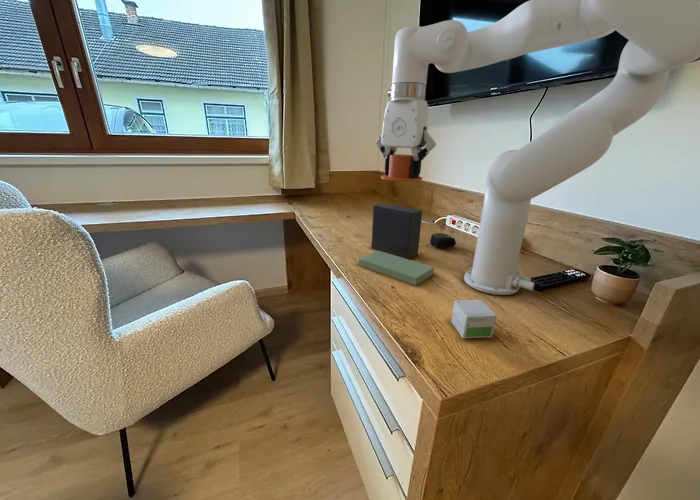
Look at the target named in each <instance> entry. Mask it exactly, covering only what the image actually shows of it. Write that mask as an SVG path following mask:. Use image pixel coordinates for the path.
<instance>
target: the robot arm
mask: <svg viewBox="0 0 700 500" xmlns="http://www.w3.org/2000/svg"><path fill="white" fill-rule="evenodd" d="M615 31H616V32H617V33H618V34H620V35H621V36H623V38H625V39H627V40H628V41H627V42H626V44H625V46H624V47H623V49H622V51H621V54H620V57H619V60H618V61H619V62H618V66H617V67H618V68H617V71H616V74H615V76H614V78H613V80H611V82H610V83H609V84H608V85H607V86H606V87H605V88H603V89H602V90H600V91H599V92H597V93H596V94H594V95H593V96H592V97H590V98H589V99H588V100H586V101H584V102H583V103H581V104H580V105H578V106H577V107H575V108H573V109H572V110H570V111H569V112H567V113H565V114H563V115H562V116H560V117H559V118H557V119H555V120H553V121H552V122H550V123H549V124H548V125H546V126H545V128H544V129H543V130H542V132H541V133H540V135H538V136H537V137H535V138H534V139H532V140H530V141H529V142H527V143H525V144H524V145H523V146H522V147H520V148H518V149H509V150H505V151H504V152H502V153H500V154H498V155H497V156H496V157H495V158H494V160H493V161H492V162H491V164H490V165H489V168H488V169H487V170H488V171H487V175H486V181H485V189H484V196H483V204H482V210H481V216H480V221H479V228H478V234H477V239H476V244H475V251H474V257H473V262H472V268H471V269H470V270H468V271H466V272H465V273H464V274H463V275H464V276H463V280H464V282H465V284H467V285H468V286H469V287H471V288H472V289H475V290H476V291H478V292H479V291H480V292H482V293H485V294H490V295H497V296H509V295H513V294H516V293H517V292H519V290H520V288H523V289H525V290H528V291H533V290H534V288H535V282H533V281H532V278H530V277H526V276H523V275H522V276H521V274H520V268H517V266H518V264H519V263H518V262H519V258H520V253H521V250H522V245H523V240H524V235H525V232H526V226H527V223H528V220H529V215H530V214H529V213H530V210H531V209H530V208H531V202H532V199H534V198H536V197H538V196H540V195H542V194H543V193H545V192H547V191H550V190H551V189H552V188H554V187H556V186H558V185H560V184H562V183H563V182H565V181H568V180H569V179H570V178H572V177H575V176H576V175H578V174H579V173H581V172H583V171H585V170H587V169H588V168H590V167H591V166H592V165H594V164H595V163H597V162H598V161H600V159H601V158H603V156H605V154H606V153H607V152H608V150H609V149H610V147H611V145H612V142H613V138H614V137H615V136H616V135H617V134H619V133H621V132H622V131H624V130H626V129H627V128H629V127H630V126H632V125H633V124H635V123H636V122H638V121H639V120H641V119H642V118H643V117H644V116H646V115H647V114H648V113H649V112H650V111H651V110H652V109H653V108H654V107H655V106H656V104H657V103H658V102H659V100H660V98H661V96H662V95H663V92H664V90H665V88H666V86H667V84H668V80H669V76H670V72H671V70H674V69H677V68H681V67H684V66H686V65H688V64H690V63H693V62H694V61H696V60H698V59H699V58H700V0H527V1H525V2H523V3H522V4H520V5H518V6H517V7H516V8H515V9H513V10H511V12H509V13H508V14H507V15H506V16H504V17H502V18H500V20H497V21H496V22H494V23H491V24H489V25H486V26H483V27H481V28H477V29H473V30H470V31H468V29H467V27H466V26H465V25H464V24H463V23H462V22H461V21H459V20H455V19H447V20H442V21H439V22H436V23H433V24H429V25H425V26H421V25H420V26H419V25H411V26H405V27H402V28H400V29H399V30H398V31H397V32H396V34H395V36H394V45H393V46H394V47H393V61H392V77H391V78H392V79H391V88H390V90H388V91H387V96H388V97H389V98H390V100H389V101H387V103H386V107H385V110H384V116H383V121H382V128H381V135H380V136H379V138H377V140H376V141H375V143H376V145H377V147H378V148H379V151H380V152H381V154H382V155H383V158H384V160H385V161H384V175H388V174H389V159H390V155H394V154H396V152H397V149H398V148H400V149H410V151H411V155H413V158H414V160H412V161H411V168H410V178H418V177H419V176H420V174H421V171H422V170H421V169H422V161H423V160H424V159H425V158H426V156H427V155H429V154H430V152H431V151H432V150H433V149H434V148H436V146H437V143H436V141H435V140H434V139H433V138H432V136H431V135H430V134H429V109H428V107H429V106H428V101H427V100H426V90H427V82H428V81H427V80H428V70H429V65H430V64H433V65H434V66H435V68H436V69H437V70H438V71H440V72H442V73H445V74H453V73H459V72H464V71H470V70H474V69H478V68H482V67H486V66H490V65H493V64H497V63H500V62H504V61H508V60H513V59H516V58H517V57H520V56H524V55H528V54H532V53H536V52H541V51H546V50H551V49H555V48H559V47H564V46H569V45H574V44H579V43H584V42H589V41H593V40H597V39H601V38H604V37H606V36H608V35H610V34H612V33H614V32H615Z"/></svg>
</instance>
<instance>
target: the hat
mask: <svg viewBox="0 0 700 500" xmlns="http://www.w3.org/2000/svg"><path fill="white" fill-rule="evenodd" d="M412 160H414V158H413V155H412V154H399V153H398V154H396V153H395V154H394V155H390V159H389V174H388V175H385V174H382V175H380V179H382V180H384V181H392V182H410V183H411V182H420V181H423V177H422V176H421V175H419V177H418V178H410V168H411V161H412Z"/></svg>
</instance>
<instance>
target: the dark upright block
mask: <svg viewBox="0 0 700 500" xmlns="http://www.w3.org/2000/svg"><path fill="white" fill-rule="evenodd" d="M422 219H423V210H422V209H418V208H412V207H408V206H407V207H406V206H401V205H396V204H391V203H385V202H382V203H381V202H380V203H378V204H374V205H373V209H372V226H371V227H372V228H371V230H372V231H371V247H370V248H371V249H373V250H376V251H382V252H385V253H388V254H391V255H395V256H398V257H401V258H404V259H408V260H411V259H413V258H415V257H418V255H419V246H420V236H421V226H422Z"/></svg>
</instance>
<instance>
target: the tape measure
mask: <svg viewBox="0 0 700 500" xmlns="http://www.w3.org/2000/svg"><path fill="white" fill-rule="evenodd" d="M429 242H430V245H431V246H432V247H435V248H437V249H445V248H452V247H455V246H456V244H457V241H456V239H455V237H452V236H451V235H449V234H448V233H442V232H437V233H432V234H431V235H430V241H429Z"/></svg>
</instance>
